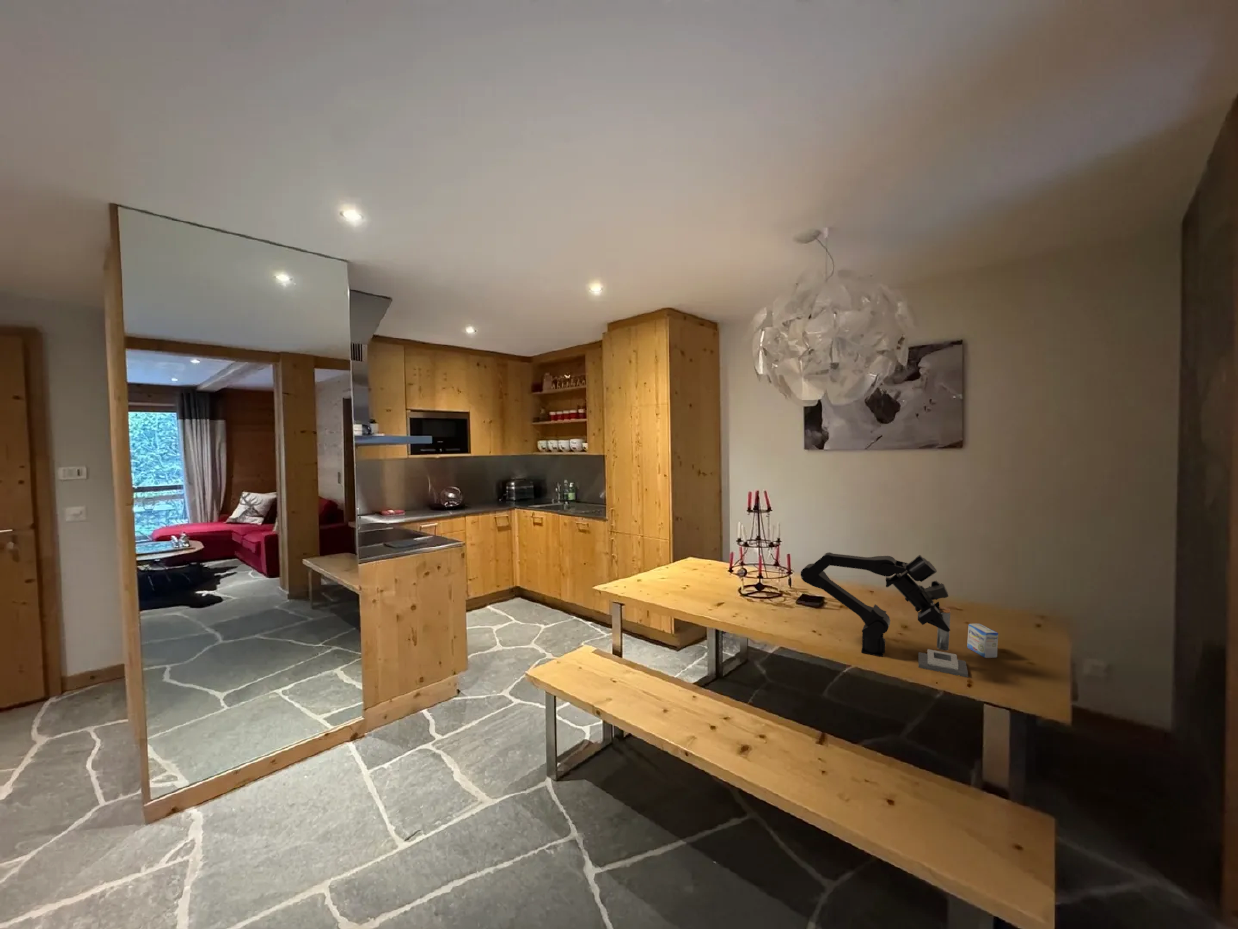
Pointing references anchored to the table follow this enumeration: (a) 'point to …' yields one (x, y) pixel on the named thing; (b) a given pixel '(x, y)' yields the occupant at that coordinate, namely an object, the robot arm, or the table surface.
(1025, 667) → the table surface
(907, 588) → the robot arm
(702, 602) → the table surface
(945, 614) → the steel pin
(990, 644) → the medicine box
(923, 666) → the plate
